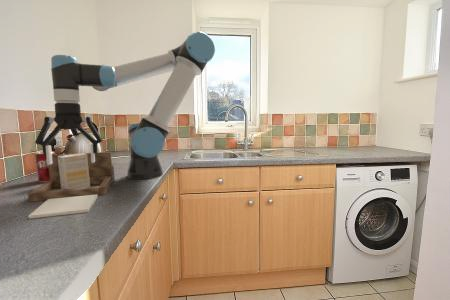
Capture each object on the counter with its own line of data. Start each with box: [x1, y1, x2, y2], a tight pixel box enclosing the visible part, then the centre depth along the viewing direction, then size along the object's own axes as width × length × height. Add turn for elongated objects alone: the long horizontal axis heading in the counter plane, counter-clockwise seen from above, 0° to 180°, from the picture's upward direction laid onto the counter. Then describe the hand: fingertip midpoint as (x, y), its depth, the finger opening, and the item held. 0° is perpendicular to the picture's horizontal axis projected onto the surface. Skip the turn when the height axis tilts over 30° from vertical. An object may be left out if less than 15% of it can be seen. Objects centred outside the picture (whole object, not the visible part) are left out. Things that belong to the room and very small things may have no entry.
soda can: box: [34, 150, 57, 184], centre depth 104 cm, size 7×7×12 cm
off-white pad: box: [28, 194, 99, 219], centre depth 74 cm, size 14×14×1 cm
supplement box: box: [58, 152, 91, 190], centre depth 89 cm, size 8×5×13 cm, turn 141°
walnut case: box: [27, 151, 116, 202], centre depth 90 cm, size 23×20×12 cm
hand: (72, 163), depth 89 cm, fingers open, 13 cm apart
